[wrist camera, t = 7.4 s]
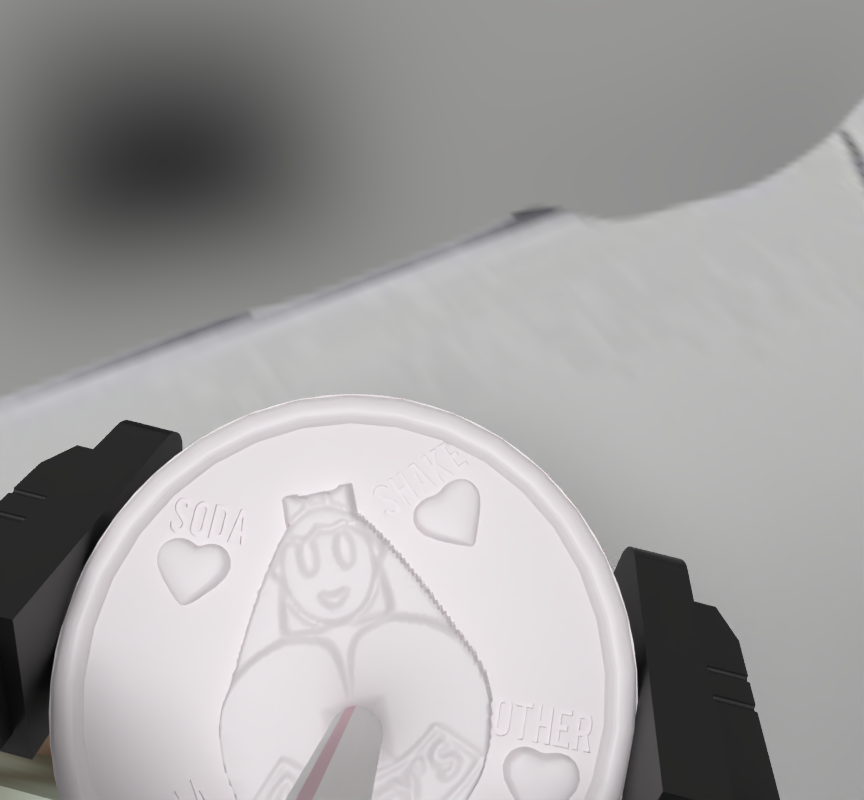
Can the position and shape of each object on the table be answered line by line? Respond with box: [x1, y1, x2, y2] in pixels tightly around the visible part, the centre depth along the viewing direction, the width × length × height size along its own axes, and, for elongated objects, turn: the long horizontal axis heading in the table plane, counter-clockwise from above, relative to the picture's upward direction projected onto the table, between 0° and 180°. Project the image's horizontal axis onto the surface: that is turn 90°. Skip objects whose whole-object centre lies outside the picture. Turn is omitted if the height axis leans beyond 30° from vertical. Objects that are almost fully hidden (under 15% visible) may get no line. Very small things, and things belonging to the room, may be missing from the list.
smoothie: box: [49, 394, 638, 800], centre depth 11 cm, size 6×6×14 cm
